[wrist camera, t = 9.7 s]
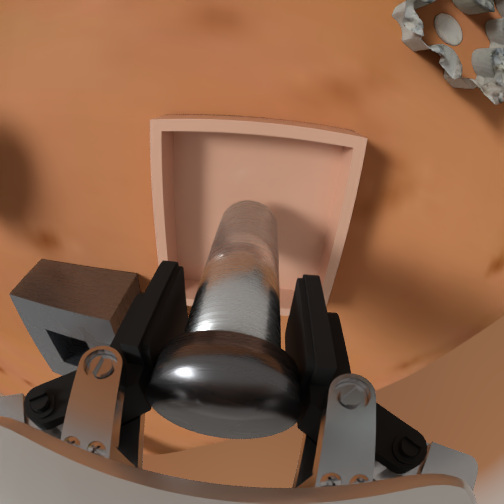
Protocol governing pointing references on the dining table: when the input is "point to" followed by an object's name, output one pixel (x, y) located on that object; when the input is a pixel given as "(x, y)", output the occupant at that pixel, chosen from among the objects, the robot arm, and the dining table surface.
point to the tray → (254, 190)
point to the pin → (232, 340)
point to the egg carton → (483, 60)
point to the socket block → (72, 309)
